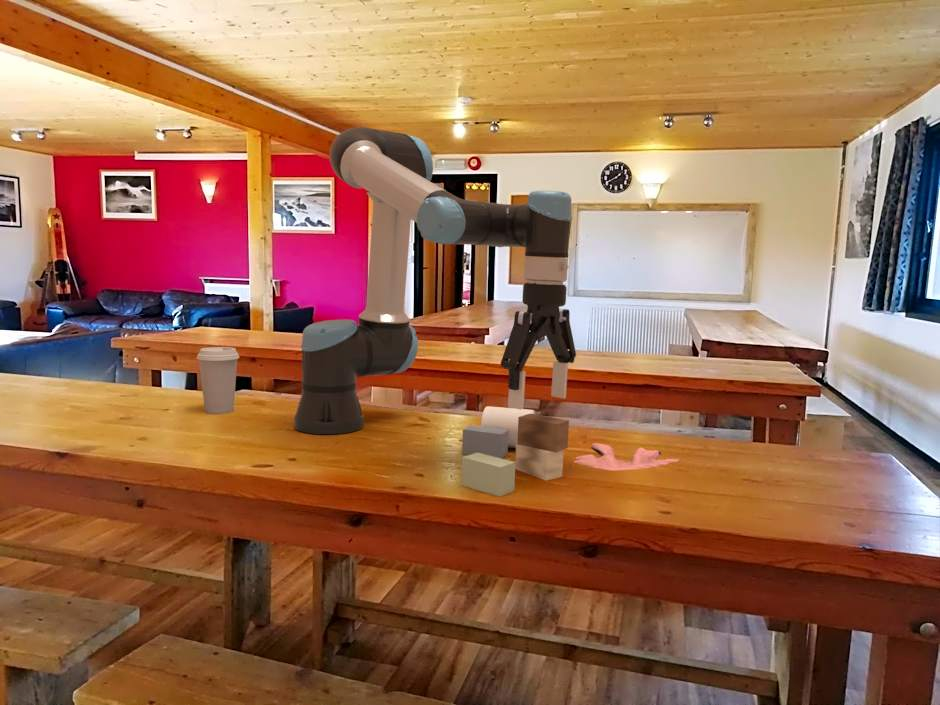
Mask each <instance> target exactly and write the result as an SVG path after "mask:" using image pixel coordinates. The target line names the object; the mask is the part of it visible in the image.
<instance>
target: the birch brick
mask: <svg viewBox="0 0 940 705" xmlns="http://www.w3.org/2000/svg"><path fill="white" fill-rule="evenodd" d="M514 462H515V470H517V471H520V472H523V473H525V474H528V475H530V476H533V477H535V478H538V479H541V480H543V481H545V482H547V481H550V480H555V479H558V478H562V477H563V468H564V467H563V466H564V450H562V451H559V452H557V453H556V452H551V451H547V450H542V449H537V448H532V447H528V446H523V445H518V444H517V443H516V448H515V461H514Z"/></svg>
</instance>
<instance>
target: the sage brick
mask: <svg viewBox="0 0 940 705" xmlns="http://www.w3.org/2000/svg"><path fill="white" fill-rule="evenodd" d="M461 461H462V462H461V486H462V487H466V488H470V489H473V490H476V491H479V492H482V493H486V494H489V495H493V496H496V497H499V498H500V497H503V496H505V495H509V494H510V493H512V492H514V491H515V483H516V481H515V479H516V469H515V462H516V461H512V460H509V459H505V458H502V459H501V458H497V457H493V456H489V455H485V454H482V453H478V452H477V453H474V454H471V455H465V456H462V457H461Z"/></svg>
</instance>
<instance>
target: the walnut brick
mask: <svg viewBox="0 0 940 705" xmlns="http://www.w3.org/2000/svg"><path fill="white" fill-rule="evenodd" d="M569 427H570V421H569V419H563V418H558V417H552V416H547V415H546V416H545V415H540V414H536V413H535V414H527V415H524V416H520V417H518V442H517V444H518V445H523V446H528V447H532V448H537V449H542V450H547V451H551V452H556V453H557V452H559V451H562V450H563V451H564V450H567V449H568V447H569V429H570V428H569Z"/></svg>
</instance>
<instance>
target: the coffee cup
mask: <svg viewBox="0 0 940 705" xmlns="http://www.w3.org/2000/svg"><path fill="white" fill-rule="evenodd" d="M238 359H240V354H239V353H238V352H237V348H235V347H229V346H228V347H227V346H214V347H213V346H210V347H202V348H200V349H199V352H198V354H197V355H196V360H198V363H199V371H200V382H201V383H200V384H201V390H202V400H203V408H204V412H205V413H206V414H209V415H210V414H211V415H223V414H224V413H225V414H230V413H233V412H234V411H235V410H234V409H235V398H236V396H235V394H236V385H237V384H236V380H237V369H238V368H237V367H238Z"/></svg>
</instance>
